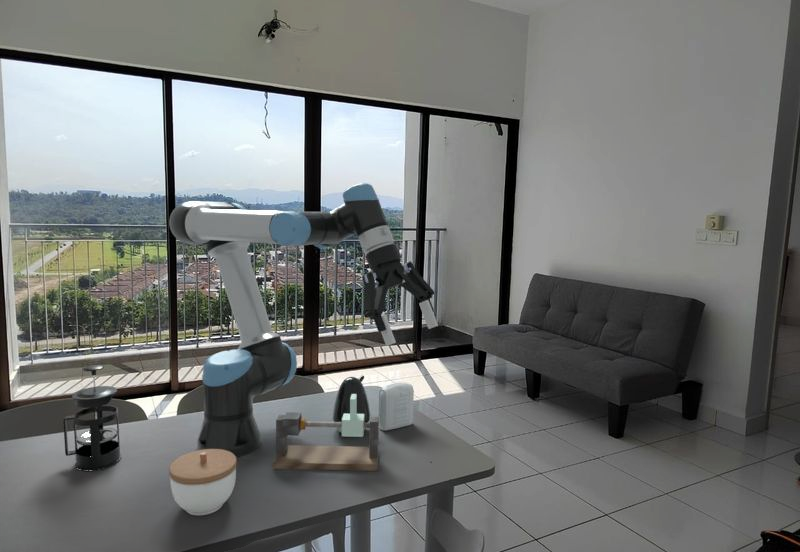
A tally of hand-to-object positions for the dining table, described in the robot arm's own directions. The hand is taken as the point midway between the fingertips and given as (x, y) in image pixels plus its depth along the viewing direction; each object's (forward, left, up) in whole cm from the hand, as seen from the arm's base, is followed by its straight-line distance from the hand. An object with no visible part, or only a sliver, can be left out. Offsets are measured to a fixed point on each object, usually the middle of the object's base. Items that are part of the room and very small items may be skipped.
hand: (413, 335), depth 117 cm
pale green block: (-14, +3, -25) cm, 28 cm away
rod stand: (-20, +3, -32) cm, 37 cm away
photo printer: (-4, +24, -32) cm, 40 cm away
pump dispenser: (-16, +20, -32) cm, 41 cm away
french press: (-74, 0, -32) cm, 80 cm away
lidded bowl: (-42, -17, -32) cm, 55 cm away
